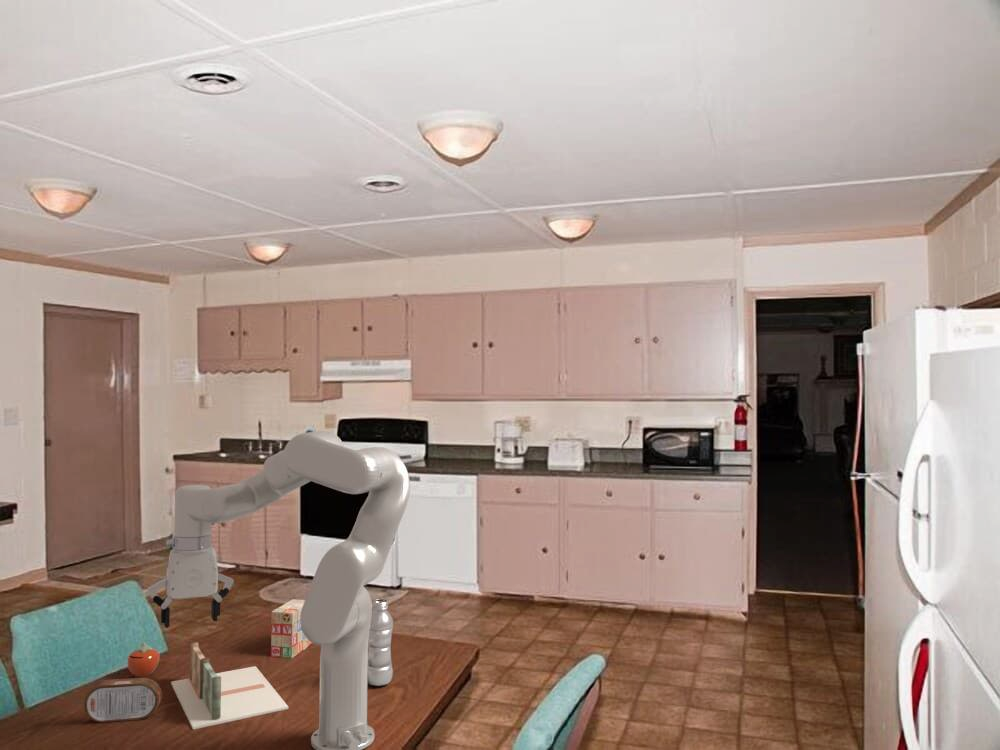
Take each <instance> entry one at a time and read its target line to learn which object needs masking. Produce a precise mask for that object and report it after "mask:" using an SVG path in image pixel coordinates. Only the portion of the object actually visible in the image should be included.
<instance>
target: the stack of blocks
mask: <svg viewBox="0 0 1000 750" xmlns="http://www.w3.org/2000/svg"><path fill="white" fill-rule="evenodd" d="M304 602H305V599H296V598H295V599H293V598H292V599H291V600H289V601H287V602H286V603H284V604H283V605H281V606H279V607H277V608H275V609H274V610H272V611H271V612H270V613H271V615H270V616H271V618H270V619H271V623H270V634H271V635H270V639H271V641H270V657H271V658H272V657H273V658H282V659H283V658H285V659H293V658H294V657H295V656H297V655H299V654H301V652H303V651H304V650H306V649H307V648H308V647H309V646H311V645H312V644H313V643H311V642H310V641H309V640H308V639H307V638H306V637H305V636H304V634H303V632H302V629H301V625H300V616H301V611H302V607H303V604H304ZM310 644H311V645H310ZM302 650H303V651H302Z"/></svg>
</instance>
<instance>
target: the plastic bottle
mask: <svg viewBox="0 0 1000 750" xmlns="http://www.w3.org/2000/svg"><path fill="white" fill-rule="evenodd" d="M388 601H389V600H388V599H384V598H378V599H374V600H373V601H372V617H371V623H370V630H369V639H368V668H367V684H368V685H370V686H374V687H381V686H385V685H388V684H389V683H391V681H392V679H393V674H394V671H393V664H392V653H391V648H392V647H391V646H392V636H393V630H394V620H393V617H392V615H391V613H390V612H389V611H388V609H389V605H388V604H389V603H388Z"/></svg>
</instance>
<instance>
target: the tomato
mask: <svg viewBox="0 0 1000 750" xmlns="http://www.w3.org/2000/svg"><path fill="white" fill-rule="evenodd" d="M160 658H161V655H160V653H159V651H158V649H156V648H153V646H150V645H148V644H147V643H146V642H142V643H141V645H140V646H138V647H137V648H136V649H135V650H132V652H130V653H129V655H128V657H127V660H126V662H127V663H126V664H127V668H128V670H129V671H130V673H131V674H132V675H133V676H134V677H135V678H147V677H149V676H151V675H152V674H153V673H154V672H155V671H156V669H157V667H158V665H159V663H160V660H161V659H160Z"/></svg>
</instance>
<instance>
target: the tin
mask: <svg viewBox="0 0 1000 750" xmlns="http://www.w3.org/2000/svg"><path fill="white" fill-rule="evenodd" d="M162 695H163V693H162V689H161V687H160V686H159V684H158V683H157V682H156V681H155V680H154V679H151V678H147V677H135V678H121V679H119V678H117V679H105V680H100V681H98V682H97V683H95V684H94V685H93V686H92V687H90V689H89V691H88V692H87V694H86V695H85V698H84V704H83V707H84V708H83V709H84V711H85V714H86V715H87V717H89V718H90V720H92V721H93V722H98V723H113V722H115V723H116V722H124V721H125V722H127V721H139V720H145V719H146V718H148V717H150V716H152V714H154V713H155V711H156V710H157V709H158V706H160V704H161V701H162Z"/></svg>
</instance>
